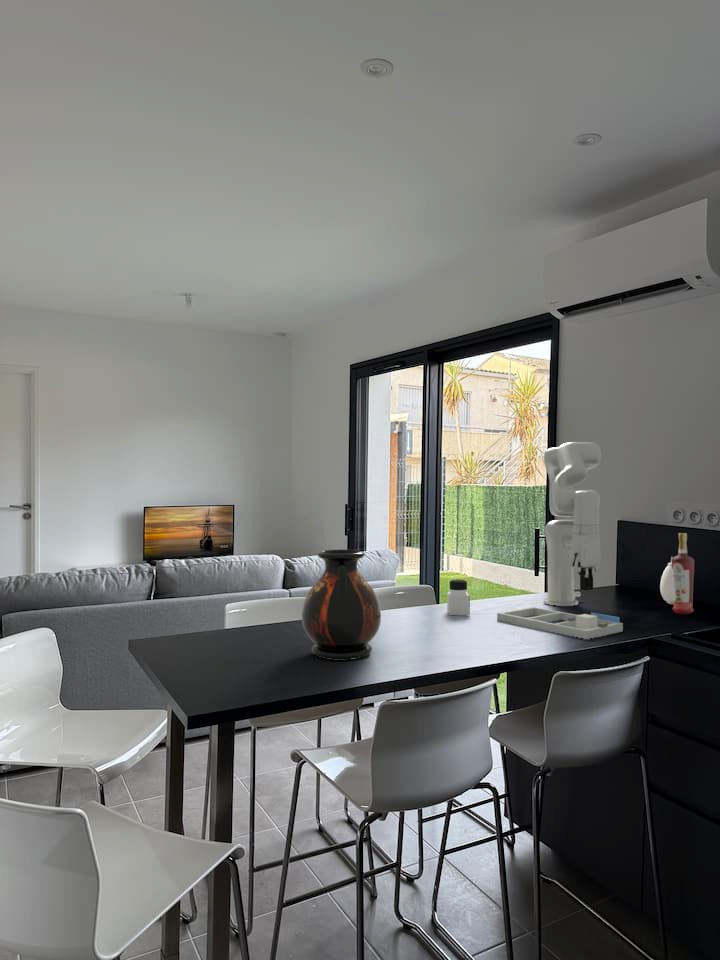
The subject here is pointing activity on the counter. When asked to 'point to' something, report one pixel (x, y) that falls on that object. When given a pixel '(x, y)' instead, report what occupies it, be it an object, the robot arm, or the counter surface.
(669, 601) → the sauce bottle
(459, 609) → the medicine bottle
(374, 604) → the black and orange vase
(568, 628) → the compartment tray
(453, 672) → the counter surface
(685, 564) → the liquor
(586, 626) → the cream matte cube
